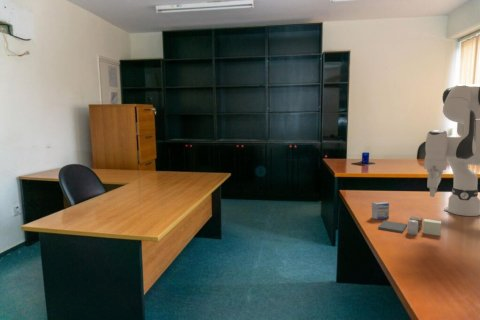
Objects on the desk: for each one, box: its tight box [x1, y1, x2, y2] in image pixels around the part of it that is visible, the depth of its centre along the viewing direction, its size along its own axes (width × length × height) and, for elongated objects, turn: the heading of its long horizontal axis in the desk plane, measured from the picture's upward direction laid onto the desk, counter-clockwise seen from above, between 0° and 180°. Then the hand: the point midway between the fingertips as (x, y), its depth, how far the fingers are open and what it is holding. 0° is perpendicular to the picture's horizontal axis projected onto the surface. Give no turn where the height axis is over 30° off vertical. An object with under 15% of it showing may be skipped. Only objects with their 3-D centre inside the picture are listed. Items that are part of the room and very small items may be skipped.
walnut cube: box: [409, 215, 424, 231], centre depth 163 cm, size 5×5×5 cm
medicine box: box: [371, 201, 390, 221], centre depth 179 cm, size 8×4×9 cm, turn 105°
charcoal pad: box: [378, 220, 408, 234], centre depth 164 cm, size 12×11×1 cm
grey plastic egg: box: [406, 219, 419, 236], centre depth 155 cm, size 4×4×6 cm
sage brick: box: [422, 218, 442, 237], centre depth 155 cm, size 4×7×6 cm, turn 54°
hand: (433, 194), depth 153 cm, fingers open, 8 cm apart
